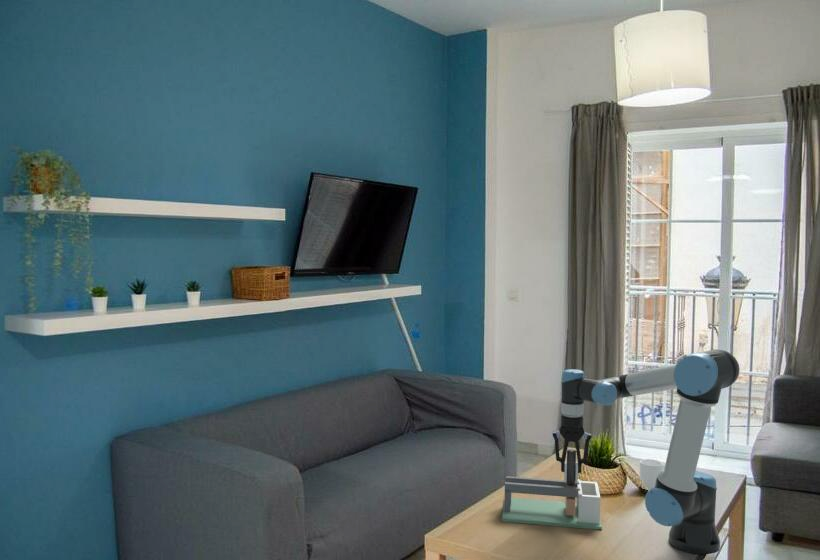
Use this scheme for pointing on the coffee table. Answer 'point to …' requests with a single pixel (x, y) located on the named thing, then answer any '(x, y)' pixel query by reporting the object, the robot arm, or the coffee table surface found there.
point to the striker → (570, 481)
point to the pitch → (552, 503)
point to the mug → (650, 471)
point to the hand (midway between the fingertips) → (570, 481)
